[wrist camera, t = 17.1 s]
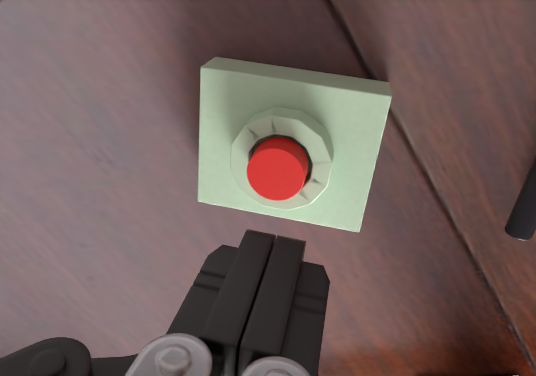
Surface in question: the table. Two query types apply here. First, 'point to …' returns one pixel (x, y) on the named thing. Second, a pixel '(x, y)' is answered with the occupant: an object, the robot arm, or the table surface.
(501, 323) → the table surface
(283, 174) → the stop button
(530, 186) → the lever
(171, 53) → the table surface
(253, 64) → the stop block
